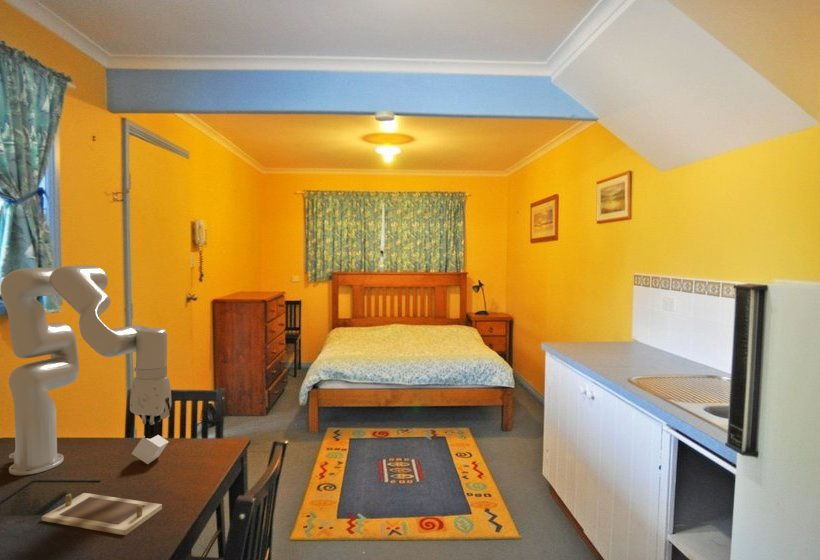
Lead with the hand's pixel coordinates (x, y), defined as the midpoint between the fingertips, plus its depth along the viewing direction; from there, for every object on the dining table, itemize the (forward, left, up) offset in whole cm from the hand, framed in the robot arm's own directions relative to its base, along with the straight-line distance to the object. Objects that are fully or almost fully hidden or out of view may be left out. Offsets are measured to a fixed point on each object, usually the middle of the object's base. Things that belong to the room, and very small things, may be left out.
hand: (151, 436), depth 124 cm
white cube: (-11, +11, -14) cm, 20 cm away
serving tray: (0, -16, -13) cm, 21 cm away
